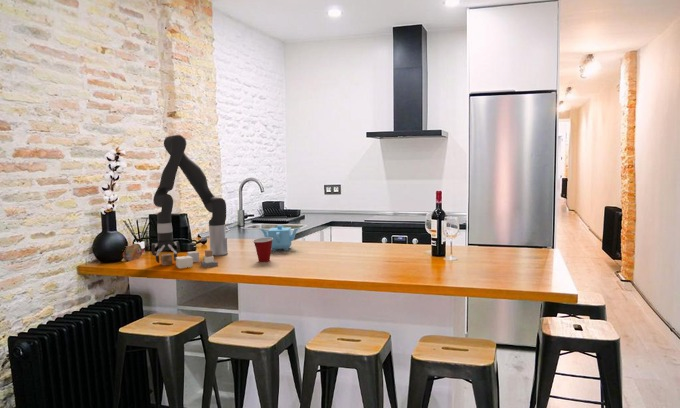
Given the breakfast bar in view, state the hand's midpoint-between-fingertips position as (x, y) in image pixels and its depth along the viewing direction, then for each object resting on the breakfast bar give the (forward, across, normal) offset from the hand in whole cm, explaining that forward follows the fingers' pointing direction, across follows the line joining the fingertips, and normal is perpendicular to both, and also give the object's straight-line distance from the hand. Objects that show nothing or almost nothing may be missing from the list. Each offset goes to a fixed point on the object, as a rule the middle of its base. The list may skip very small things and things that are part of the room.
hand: (166, 261), depth 271 cm
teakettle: (+2, -67, -5) cm, 67 cm away
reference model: (+1, -18, +18) cm, 25 cm away
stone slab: (+2, +14, -27) cm, 30 cm away
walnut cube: (+2, 0, 0) cm, 2 cm away
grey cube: (+1, -14, 0) cm, 14 cm away
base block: (+2, -7, +12) cm, 14 cm away
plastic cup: (+2, -46, +23) cm, 51 cm away
